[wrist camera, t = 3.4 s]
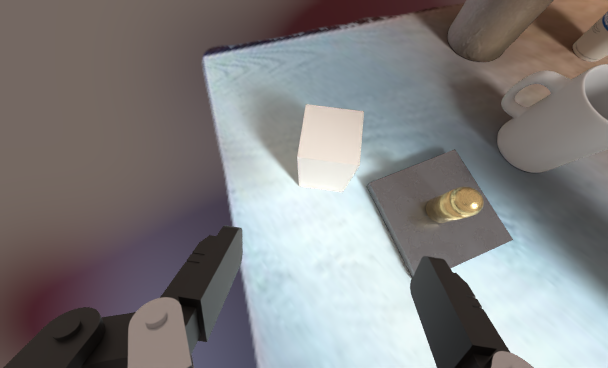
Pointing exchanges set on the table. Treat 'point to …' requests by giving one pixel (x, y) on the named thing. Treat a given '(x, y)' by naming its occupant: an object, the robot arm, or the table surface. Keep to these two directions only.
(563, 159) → the mug
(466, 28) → the pillar candle
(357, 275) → the table surface
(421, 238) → the base plate
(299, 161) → the white rectangular block
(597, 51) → the coffee cup
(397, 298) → the table surface
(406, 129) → the table surface
